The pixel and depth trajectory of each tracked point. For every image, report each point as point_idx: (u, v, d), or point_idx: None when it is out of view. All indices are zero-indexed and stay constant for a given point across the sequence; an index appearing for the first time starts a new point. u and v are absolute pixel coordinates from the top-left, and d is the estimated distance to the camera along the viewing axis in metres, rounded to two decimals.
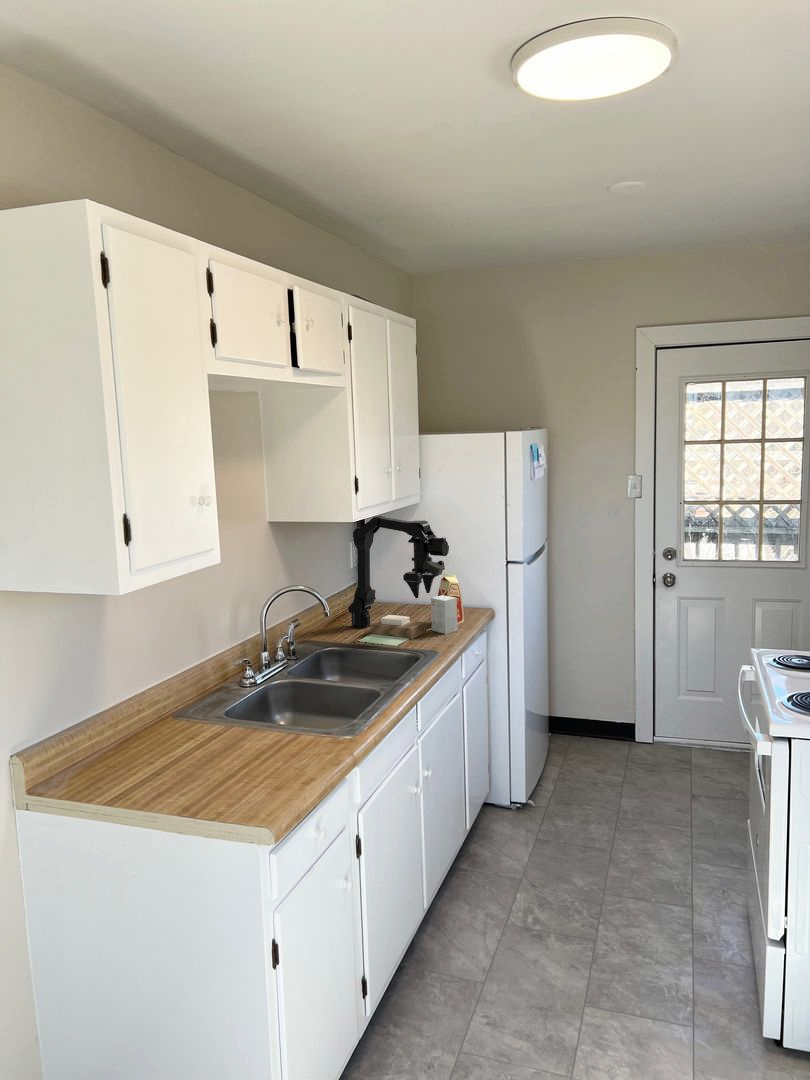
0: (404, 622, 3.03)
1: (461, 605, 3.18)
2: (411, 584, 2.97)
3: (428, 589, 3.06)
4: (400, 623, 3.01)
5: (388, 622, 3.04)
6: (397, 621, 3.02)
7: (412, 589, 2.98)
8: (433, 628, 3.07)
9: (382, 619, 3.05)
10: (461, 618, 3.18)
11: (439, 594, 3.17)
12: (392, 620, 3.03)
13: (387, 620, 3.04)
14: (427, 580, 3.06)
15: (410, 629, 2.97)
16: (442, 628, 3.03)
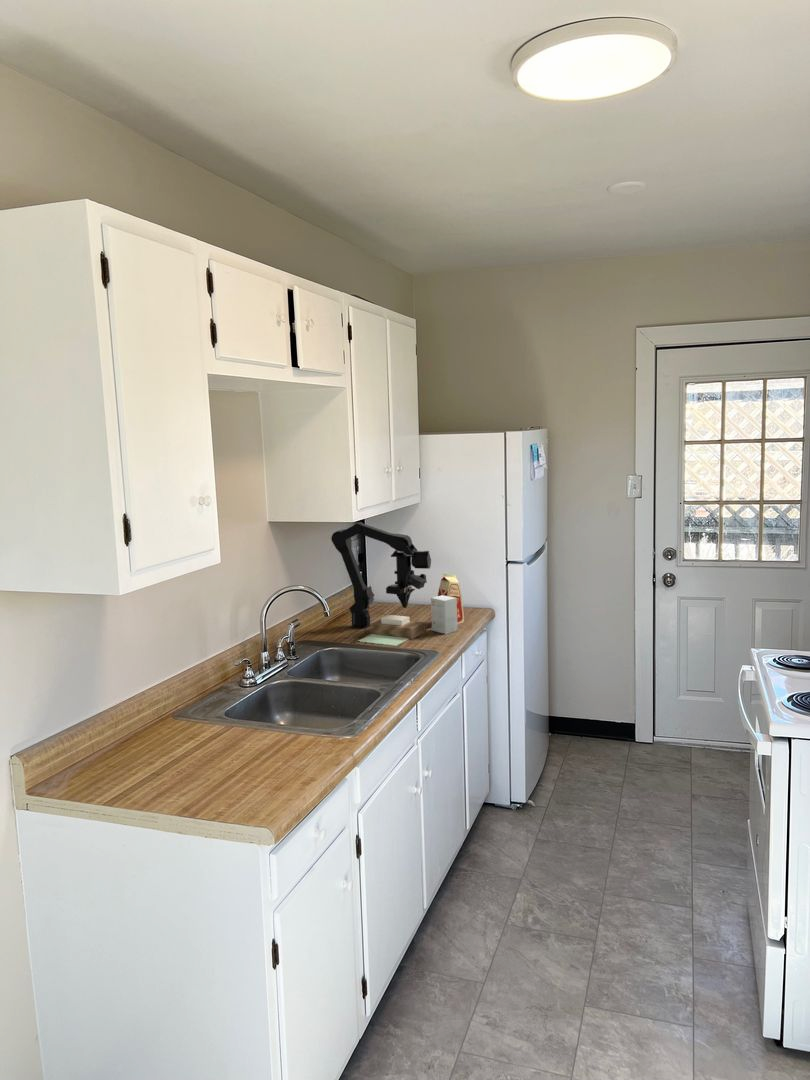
0: (404, 622, 3.03)
1: (461, 605, 3.18)
2: (399, 594, 3.10)
3: None
4: (400, 623, 3.01)
5: (388, 622, 3.04)
6: (397, 621, 3.02)
7: (400, 599, 3.11)
8: (433, 628, 3.07)
9: (382, 619, 3.05)
10: (461, 618, 3.18)
11: (439, 594, 3.17)
12: (392, 620, 3.03)
13: (387, 620, 3.04)
14: None
15: (410, 629, 2.97)
16: (442, 628, 3.03)
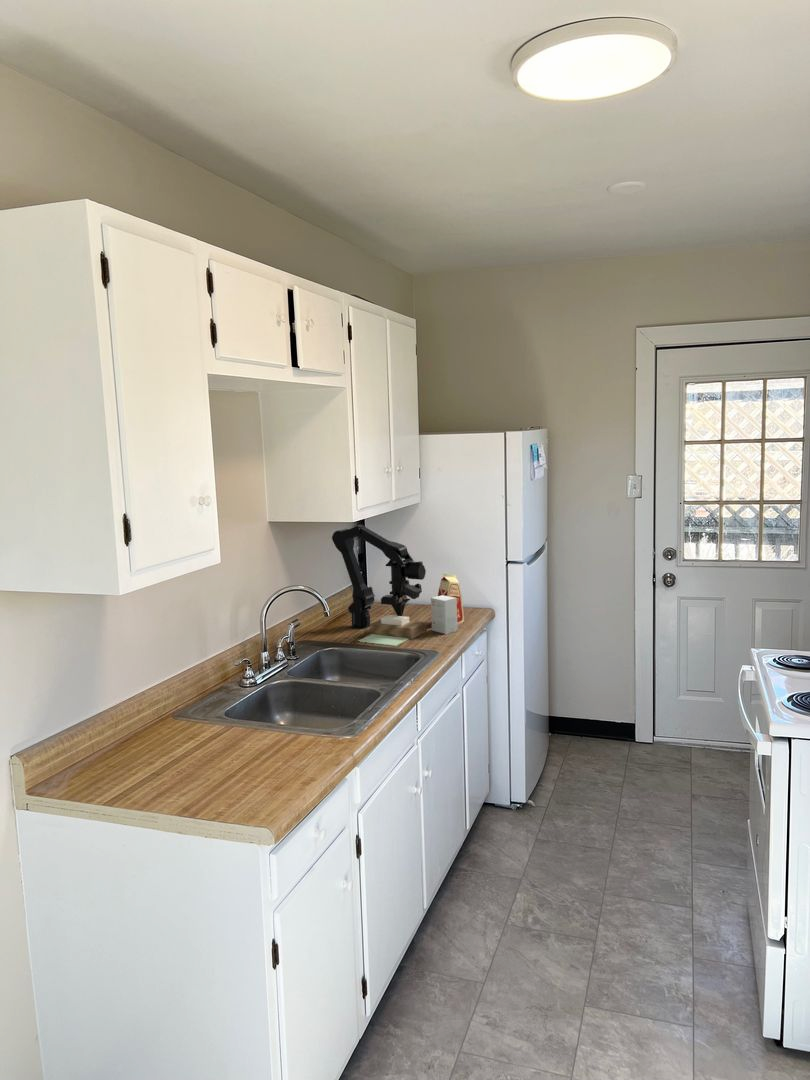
0: (404, 622, 3.02)
1: (461, 605, 3.18)
2: (394, 604, 3.07)
3: None
4: (400, 623, 3.01)
5: (388, 622, 3.04)
6: (397, 621, 3.02)
7: (395, 609, 3.08)
8: (433, 628, 3.07)
9: (382, 619, 3.05)
10: (461, 618, 3.18)
11: (439, 594, 3.17)
12: (392, 620, 3.03)
13: (387, 620, 3.04)
14: None
15: (410, 629, 2.97)
16: (442, 628, 3.03)
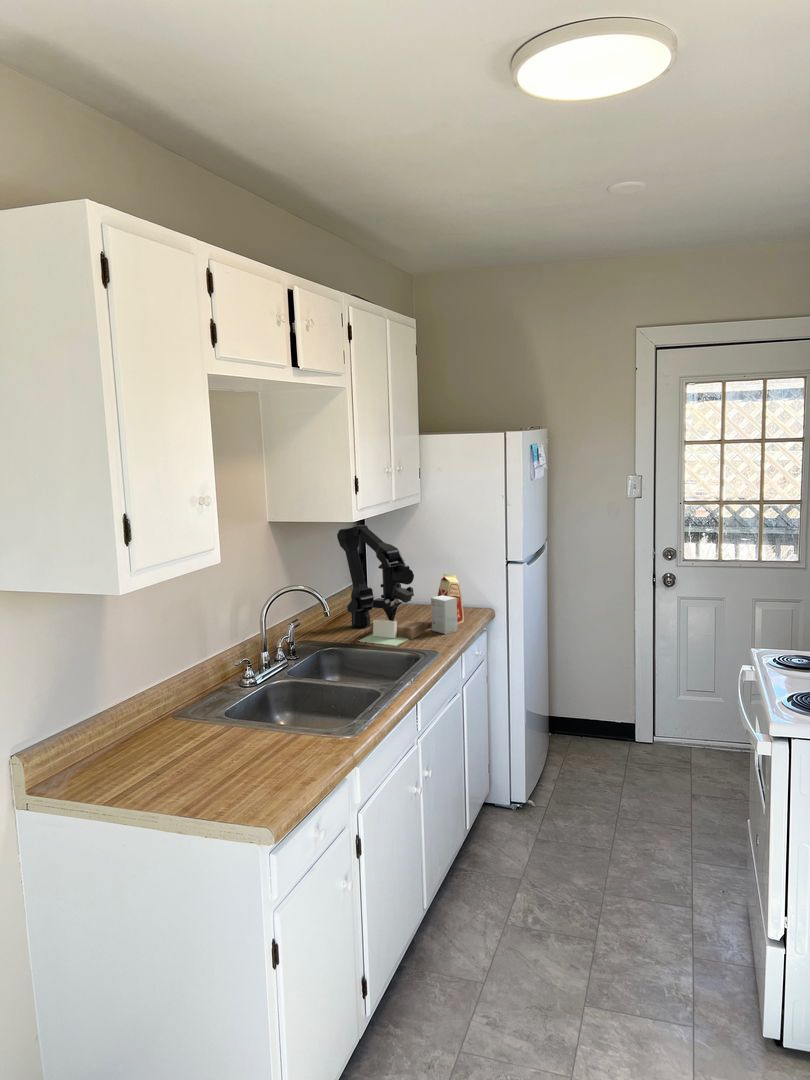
0: (395, 632, 2.98)
1: (461, 605, 3.18)
2: (386, 608, 3.01)
3: None
4: None
5: None
6: (390, 637, 2.98)
7: (387, 613, 3.02)
8: (433, 628, 3.07)
9: (374, 635, 3.01)
10: (461, 618, 3.18)
11: (439, 594, 3.17)
12: None
13: None
14: None
15: (410, 629, 2.97)
16: (442, 628, 3.03)
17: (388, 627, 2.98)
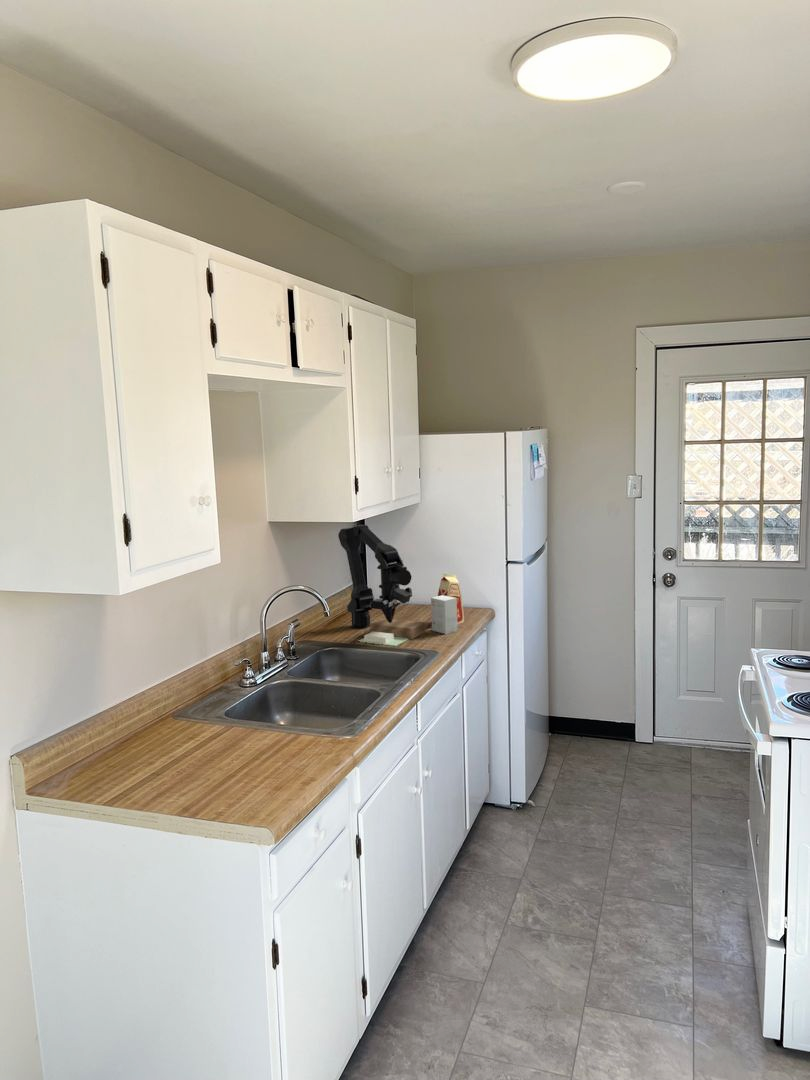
0: (391, 637, 2.95)
1: (461, 605, 3.18)
2: (384, 609, 3.00)
3: None
4: None
5: None
6: None
7: (385, 614, 3.01)
8: (433, 628, 3.07)
9: None
10: (461, 618, 3.18)
11: (439, 594, 3.17)
12: None
13: None
14: None
15: (410, 629, 2.97)
16: (442, 628, 3.03)
17: None
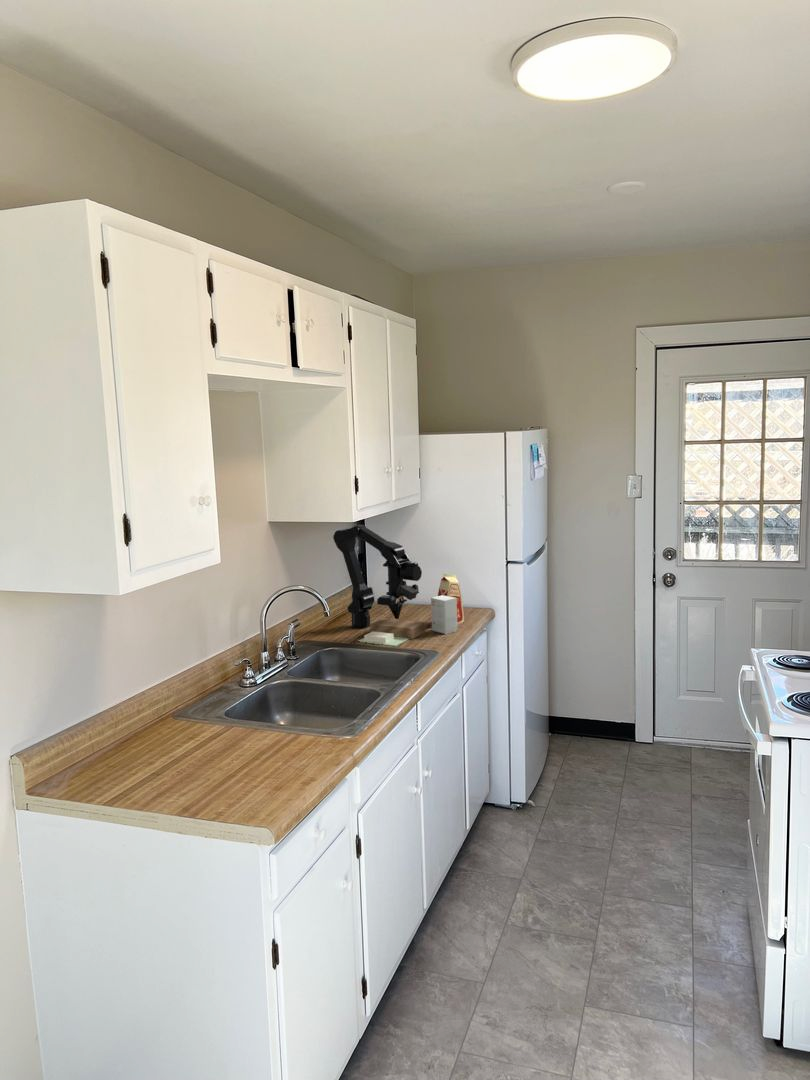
0: (391, 637, 2.95)
1: (461, 605, 3.18)
2: (391, 605, 3.05)
3: None
4: None
5: None
6: None
7: (392, 610, 3.05)
8: (433, 628, 3.07)
9: None
10: (461, 618, 3.18)
11: (439, 594, 3.17)
12: None
13: None
14: None
15: (410, 629, 2.97)
16: (442, 628, 3.03)
17: None
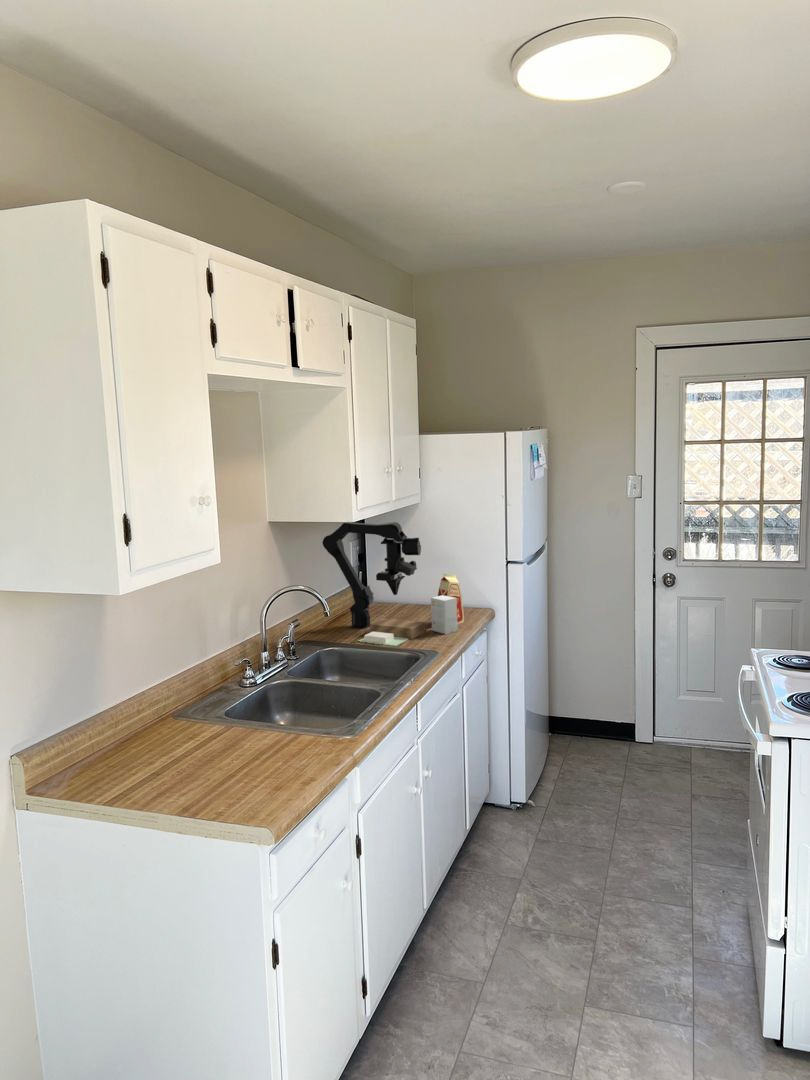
0: (391, 637, 2.95)
1: (461, 605, 3.18)
2: (390, 581, 3.11)
3: None
4: None
5: None
6: None
7: (391, 586, 3.12)
8: (433, 628, 3.07)
9: None
10: (461, 618, 3.18)
11: (439, 594, 3.17)
12: None
13: None
14: None
15: (410, 629, 2.97)
16: (442, 628, 3.03)
17: None
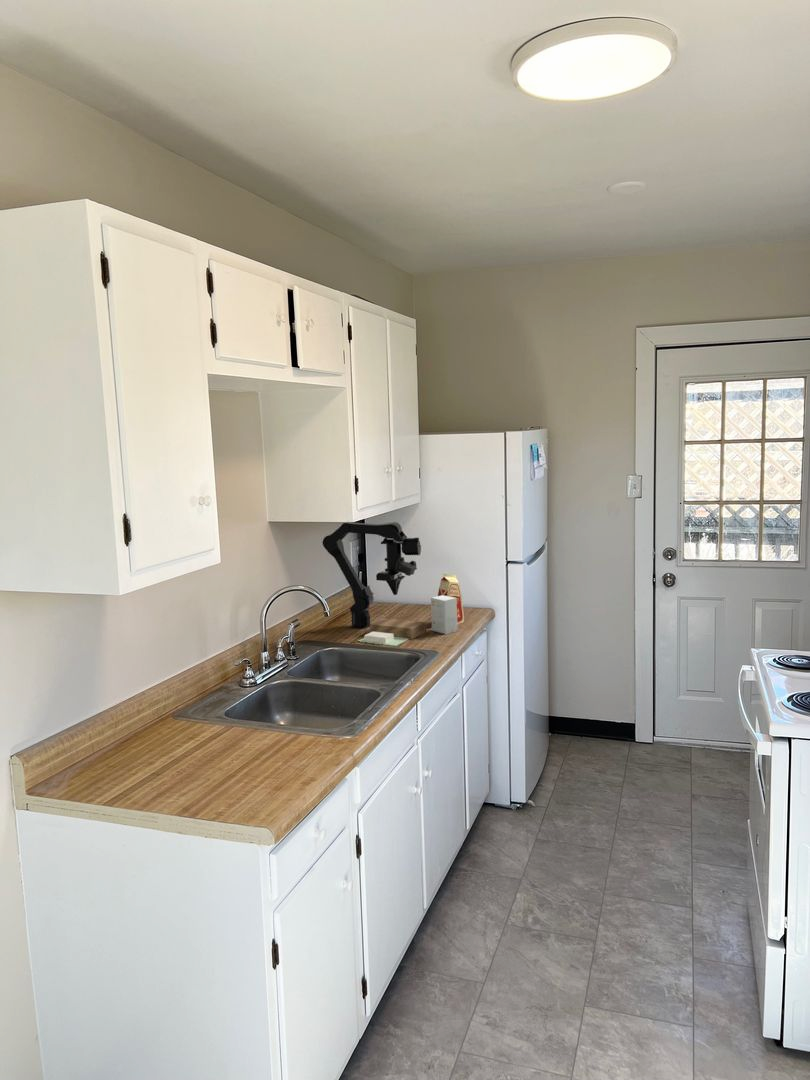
0: (391, 637, 2.95)
1: (461, 605, 3.18)
2: (390, 581, 3.11)
3: None
4: None
5: None
6: None
7: (391, 586, 3.12)
8: (433, 628, 3.07)
9: None
10: (461, 618, 3.18)
11: (439, 594, 3.17)
12: None
13: None
14: None
15: (410, 629, 2.97)
16: (442, 628, 3.03)
17: None
